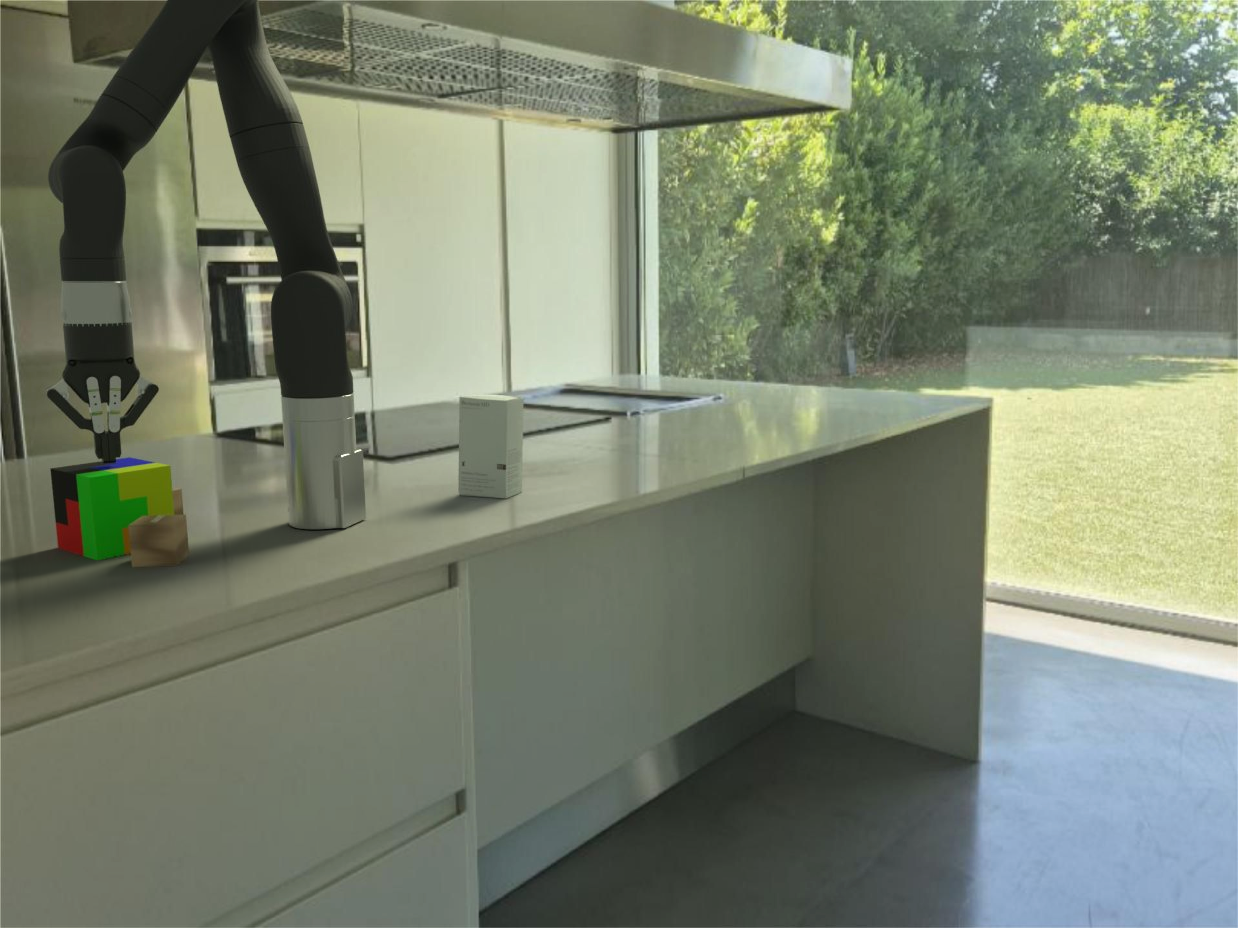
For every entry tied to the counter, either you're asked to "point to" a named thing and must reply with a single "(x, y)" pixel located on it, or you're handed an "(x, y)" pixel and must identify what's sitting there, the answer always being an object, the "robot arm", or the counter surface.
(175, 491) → the two bar block
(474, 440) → the skincare box
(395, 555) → the counter surface
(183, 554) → the one bar block
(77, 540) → the puzzle toy
